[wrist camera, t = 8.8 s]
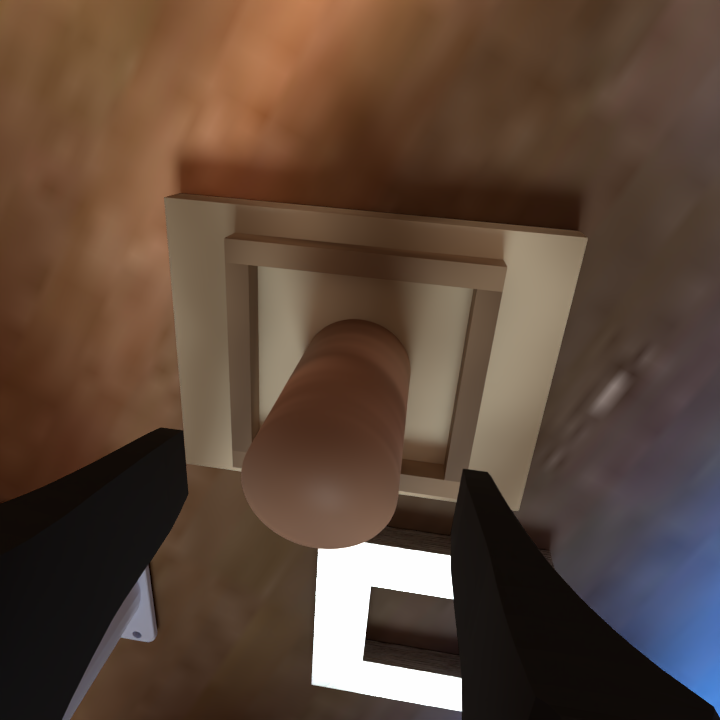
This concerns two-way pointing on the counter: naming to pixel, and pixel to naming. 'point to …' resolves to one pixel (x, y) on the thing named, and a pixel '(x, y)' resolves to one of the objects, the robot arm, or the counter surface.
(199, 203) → the beige rectangular frame
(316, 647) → the socket block
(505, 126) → the counter surface
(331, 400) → the peg
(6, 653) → the robot arm
